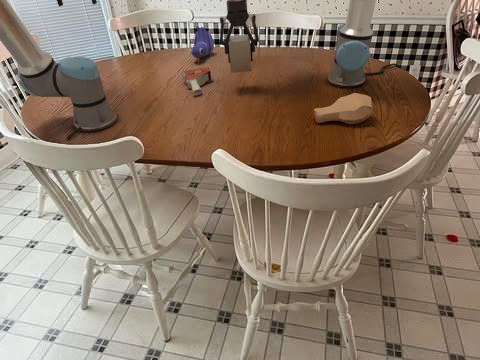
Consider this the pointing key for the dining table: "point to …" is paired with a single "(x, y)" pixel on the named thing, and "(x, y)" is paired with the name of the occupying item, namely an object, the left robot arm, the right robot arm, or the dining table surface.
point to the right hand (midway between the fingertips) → (240, 61)
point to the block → (240, 53)
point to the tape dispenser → (196, 79)
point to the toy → (202, 43)
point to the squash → (346, 109)
